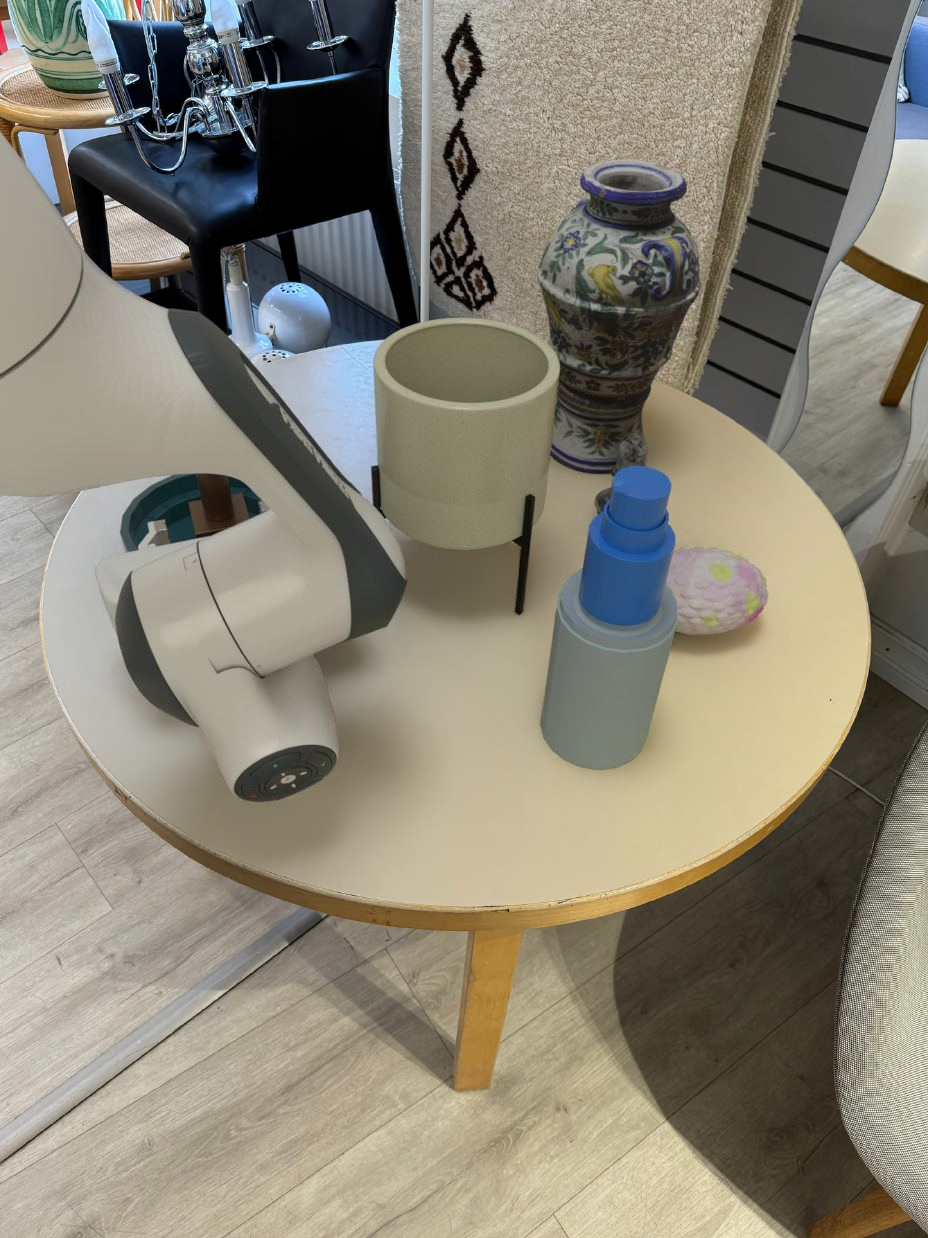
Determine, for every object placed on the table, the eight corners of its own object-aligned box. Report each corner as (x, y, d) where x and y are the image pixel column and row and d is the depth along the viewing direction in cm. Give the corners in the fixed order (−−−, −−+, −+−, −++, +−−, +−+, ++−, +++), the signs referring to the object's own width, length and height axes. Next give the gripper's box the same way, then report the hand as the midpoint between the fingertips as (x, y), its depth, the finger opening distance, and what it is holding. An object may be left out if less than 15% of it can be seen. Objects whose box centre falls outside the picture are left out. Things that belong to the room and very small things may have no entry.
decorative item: (608, 561, 84) (699, 508, 78) (671, 582, 92) (758, 535, 86) (637, 650, 80) (734, 600, 74) (700, 664, 88) (792, 620, 82)
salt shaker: (650, 521, 96) (672, 423, 88) (640, 554, 92) (661, 455, 84) (596, 509, 98) (613, 411, 89) (584, 541, 94) (599, 442, 85)
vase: (576, 504, 98) (617, 221, 77) (495, 426, 109) (511, 160, 88) (695, 464, 104) (762, 192, 83) (607, 394, 115) (647, 138, 94)
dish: (125, 622, 83) (112, 581, 80) (138, 512, 95) (127, 473, 91) (307, 603, 86) (302, 563, 82) (298, 499, 97) (293, 460, 94)
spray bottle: (639, 688, 79) (699, 445, 62) (653, 771, 73) (724, 526, 55) (537, 685, 79) (569, 440, 62) (543, 768, 73) (579, 521, 55)
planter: (363, 536, 93) (350, 325, 77) (510, 516, 96) (528, 309, 80) (392, 638, 83) (384, 419, 67) (556, 612, 86) (587, 396, 70)
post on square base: (203, 569, 87) (174, 442, 77) (196, 537, 91) (167, 411, 81) (257, 559, 89) (235, 432, 79) (248, 527, 92) (226, 402, 82)
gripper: (370, 561, 71) (326, 464, 80) (96, 620, 65) (83, 509, 74) (373, 619, 75) (331, 521, 84) (117, 679, 69) (102, 567, 79)
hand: (213, 516), depth 79 cm, fingers open, 8 cm apart
